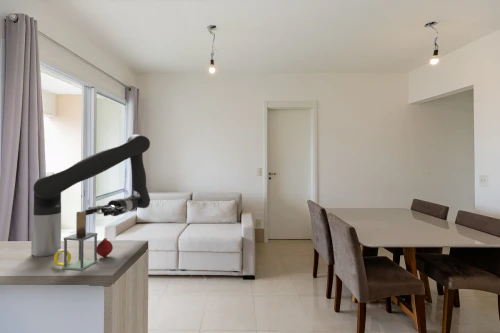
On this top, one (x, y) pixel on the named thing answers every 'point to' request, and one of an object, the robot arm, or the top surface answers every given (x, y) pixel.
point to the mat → (77, 264)
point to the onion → (104, 248)
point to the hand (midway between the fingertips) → (94, 213)
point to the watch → (57, 257)
